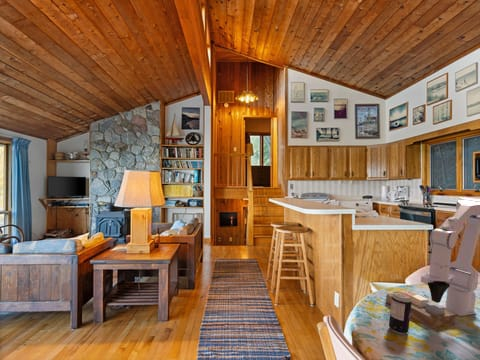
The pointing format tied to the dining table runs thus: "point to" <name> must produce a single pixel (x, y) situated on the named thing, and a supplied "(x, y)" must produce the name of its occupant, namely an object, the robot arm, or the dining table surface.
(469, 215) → the robot arm
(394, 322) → the beverage can
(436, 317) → the brown slotted tray
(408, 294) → the red key
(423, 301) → the ivory key
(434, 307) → the grey block
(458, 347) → the dining table surface
